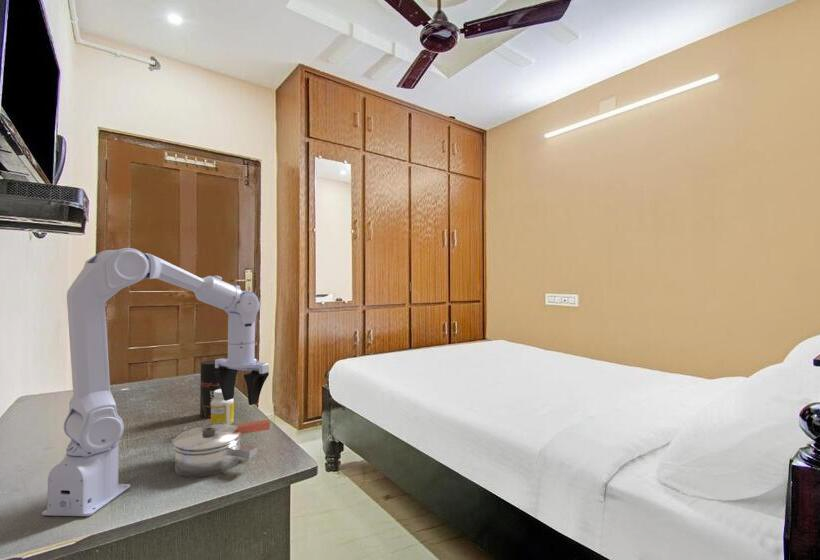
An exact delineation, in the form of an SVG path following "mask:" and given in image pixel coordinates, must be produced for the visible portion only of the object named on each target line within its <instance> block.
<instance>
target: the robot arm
mask: <svg viewBox="0 0 820 560" xmlns="http://www.w3.org/2000/svg"><path fill="white" fill-rule="evenodd" d="M153 279H154V280H155V279H157V280H158V281H162V282H164V283H168V284H170V285H174V286H177V287H179V288H183V289H185V290H187V291H190V292H193V293H194V296H195V298H196V300H198V301H199V302H202V303H205V304H206V305H207V304H208V305H210V306H212V307H215V308H217V309H220V310H223V311H224V312H225V313H226V314H227V317H228V318H227V358H224V357H223V358H221V357H220V358H217V359H214V360H215V368H219V369H218V370H217V371H214V376H215V377H216V379H217V380H218V382H219V385H220V387H221V390H222V394H223V398H224V401H227V400H230V399H234V396H235V384H236V378H237V375H238V372H239V371H243V372H249V373H246V374H244V375H243V379H244V381H245V384H246V388H247V389H246V390H247V401H248V405H250V406H253V405H255V404H258V403H259V399H260V395H261V392H262V389H263V386H264V384H265V383H266V381H267V378H268V377H269V375H270V372H269V370H270V369H269V368H270V367H269V365H270V364H269V363H266V362H262V361H258V360H257V358H255V356H256V355H255V352H256V351H255V349H256V348H255V345H256V344H255V342H256V341H255V340H256V320H257V313H258V312H259V311H260V309H261V306H262V303H261V302H260V301H259V298H258V296H257V294H256V293H254V292H253V291H250V290H242V289H241V285H237V284H234V285H233V284H231V283H228V282H226V281H223V277H221V276H219V275H213V276H212V275H207V276H205V277H201V276H200V277H199V276H198V275H195V274H193V273H191V272H189V271H187V270H185V269H183V268H181V267H180V266H177V265H174V264H172V263H171V262H168V261H167V260H165V259H163V258H160V257H158V256H155V255H153V254H152V253H148V252H147V253H146V252H144V253H143V252H142V251H140V250H138V249H136V248H132V247H124V248H119V249H106V250H102V251H100V252H98V253H97V254H95V255H93V256H92V257H91V258H89V259H88V260H86V261H85V263H84V265H83V268H82V269H81V271H80V272H79V274H78V275H77V277H76V278H75V279H74V281H73V282H72V284H71V285H70V287H69V288H68V290H67V293H66V306H67V307H66V308H67V321H68V335H69V351H70V353H69V354H70V363H71V365H70V366H71V379H72V397H71V398H70V400H69V402H68V407H69V409H68V414H67V416H66V418H65V420H64V421H63V425H62V427H63V431H64V434H65V435H66V436H67V437H68V438H70V441H69V444H68V445H67V447H66V451H65V455H64V457H63V458H62V460H60V461H59V462H58V463H57V464H56V465H55V466H53V468H52V469H51V470H50V471H49V473H48V476H47V501H46V502H47V504H46V505H47V509H45V510H43V511H42V512H41V514H42V516H53V517H54V516H59V517H60V516H62V517H63V516H64V517H69V516H70V517H90V516H92V515H93V514H95V513H96V512H98V511H99V510H100V509H102V508H103V507H104V506H106V505H107V504H109V503H110V502H112V501H114V499H116V498H117V497H118V496H120V495H122V494H123V493H124V492H126V491H127V490H128V489H130V488H131V483H119V457H120V455H119V453H120V440H121V438H122V437H123V433H124V432H125V424H124V421H123V419H122V418H121V416H119V414H118V411H117V403H116V401H115V398H114V397H113V394H112V392H111V381H110V366H109V365H110V363H109V349H108V348H109V347H108V345H109V344H108V332H107V317H106V315H107V313H106V302H107V301H108V300H110V299H111V298H113V296H114V295H116V294H117V293H118V292H120V291H121V290H122V289H124V288H128V287H129V286H132V285H134V284H137V283H139V282H141V281H142V280H153Z"/></svg>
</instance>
